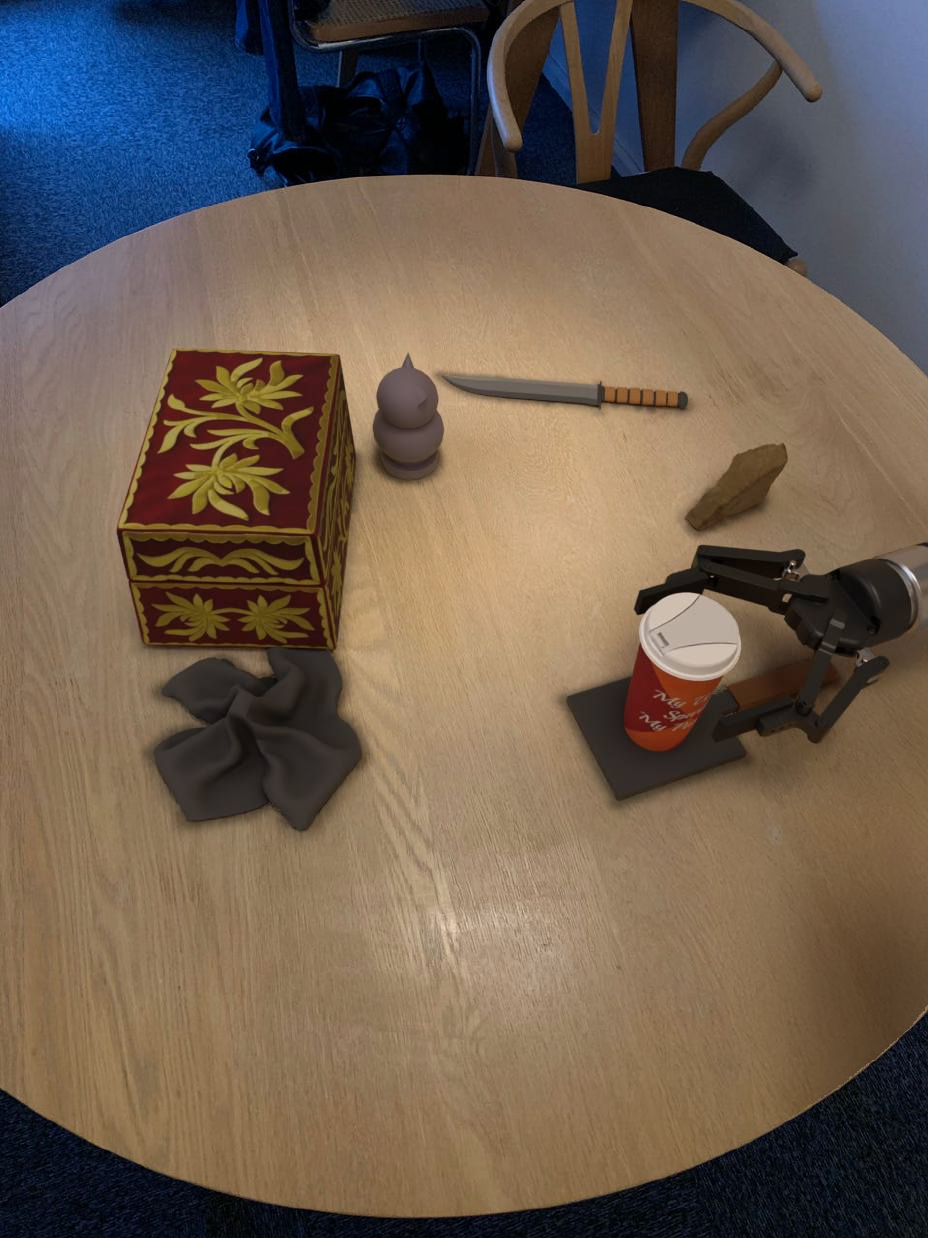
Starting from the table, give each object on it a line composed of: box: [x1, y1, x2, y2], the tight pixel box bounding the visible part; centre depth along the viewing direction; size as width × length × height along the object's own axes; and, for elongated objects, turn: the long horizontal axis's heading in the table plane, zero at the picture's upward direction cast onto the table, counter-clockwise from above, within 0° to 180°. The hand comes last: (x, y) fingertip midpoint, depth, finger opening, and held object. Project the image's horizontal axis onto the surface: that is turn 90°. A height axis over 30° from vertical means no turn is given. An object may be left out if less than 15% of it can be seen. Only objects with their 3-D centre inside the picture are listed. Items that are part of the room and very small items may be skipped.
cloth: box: [153, 647, 363, 830], centre depth 83 cm, size 22×19×6 cm
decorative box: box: [116, 348, 357, 650], centre depth 92 cm, size 28×19×15 cm
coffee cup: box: [623, 593, 742, 752], centre depth 80 cm, size 8×8×15 cm
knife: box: [441, 374, 689, 410], centre depth 114 cm, size 30×1×5 cm
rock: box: [685, 442, 789, 531], centre depth 102 cm, size 11×9×10 cm
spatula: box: [566, 659, 840, 801], centre depth 88 cm, size 11×26×1 cm, turn 111°
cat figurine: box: [372, 352, 445, 481], centre depth 102 cm, size 8×8×12 cm
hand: (675, 664), depth 78 cm, fingers open, 13 cm apart
